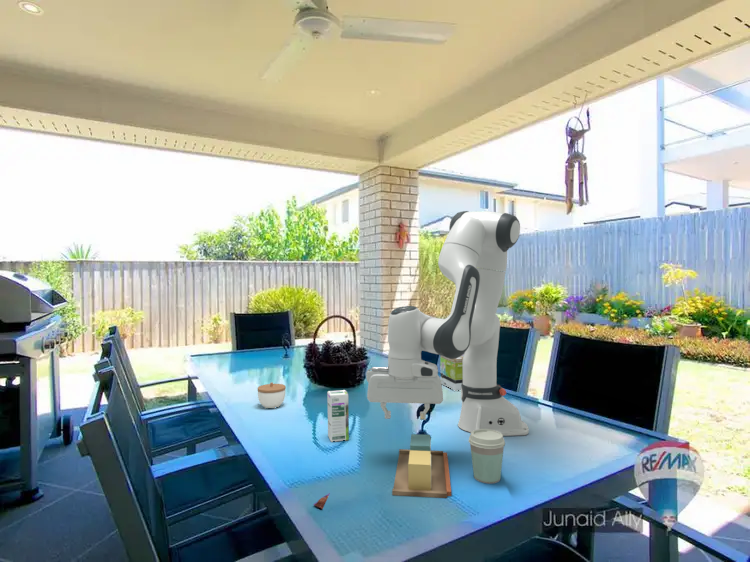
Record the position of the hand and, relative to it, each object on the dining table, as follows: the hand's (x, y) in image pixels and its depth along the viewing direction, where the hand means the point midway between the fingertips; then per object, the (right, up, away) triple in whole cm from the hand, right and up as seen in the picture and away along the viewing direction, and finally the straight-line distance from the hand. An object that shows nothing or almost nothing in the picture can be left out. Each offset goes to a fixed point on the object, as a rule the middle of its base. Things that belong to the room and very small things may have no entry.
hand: (405, 418), depth 117 cm
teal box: (+4, -11, -3) cm, 12 cm away
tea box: (+29, -12, +83) cm, 89 cm away
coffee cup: (+19, -12, -12) cm, 25 cm away
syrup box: (-20, -12, +19) cm, 30 cm away
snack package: (-16, -13, -19) cm, 28 cm away
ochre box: (+2, -11, -14) cm, 18 cm away
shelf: (+3, -12, -9) cm, 15 cm away
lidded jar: (-49, -13, +54) cm, 74 cm away
